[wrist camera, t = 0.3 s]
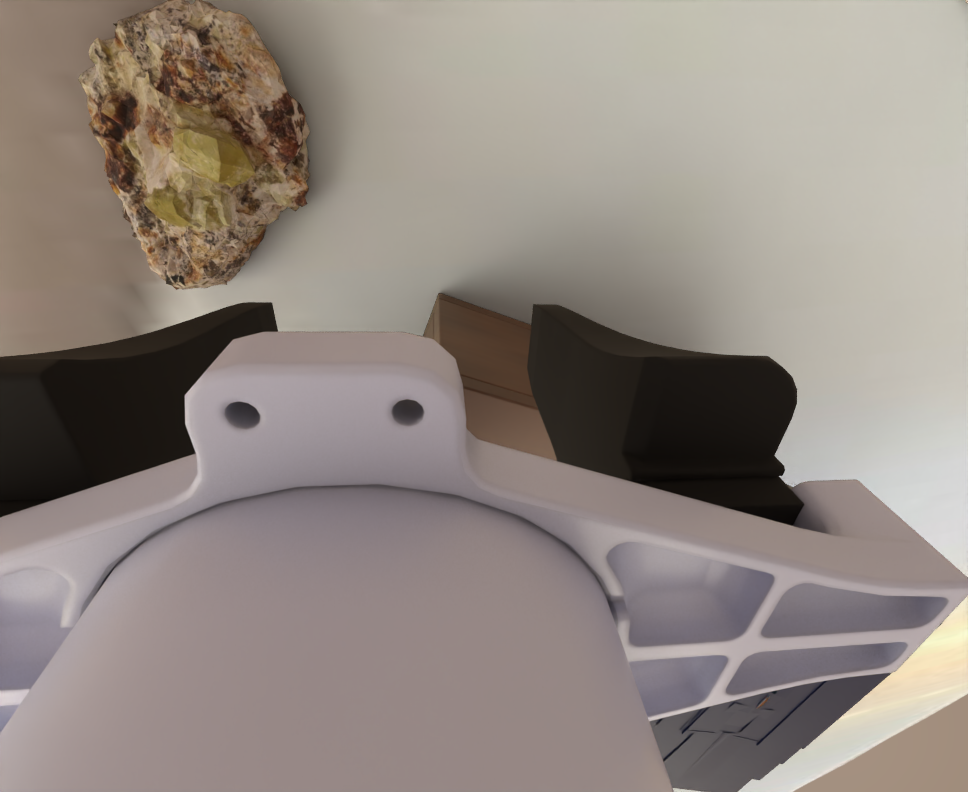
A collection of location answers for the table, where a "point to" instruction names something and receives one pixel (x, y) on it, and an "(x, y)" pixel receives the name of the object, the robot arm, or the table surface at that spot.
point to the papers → (752, 732)
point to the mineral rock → (196, 137)
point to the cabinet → (492, 374)
